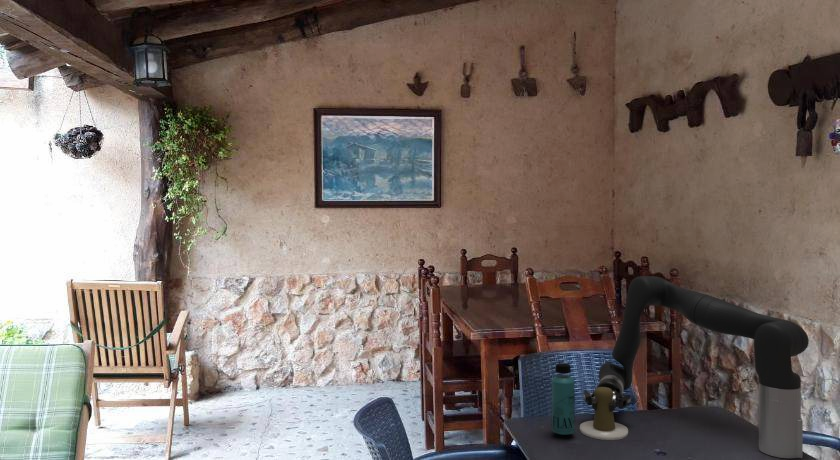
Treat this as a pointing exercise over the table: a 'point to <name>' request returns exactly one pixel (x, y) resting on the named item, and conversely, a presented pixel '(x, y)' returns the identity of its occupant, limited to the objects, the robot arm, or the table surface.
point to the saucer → (614, 434)
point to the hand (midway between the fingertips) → (602, 407)
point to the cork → (603, 409)
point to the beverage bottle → (563, 401)
